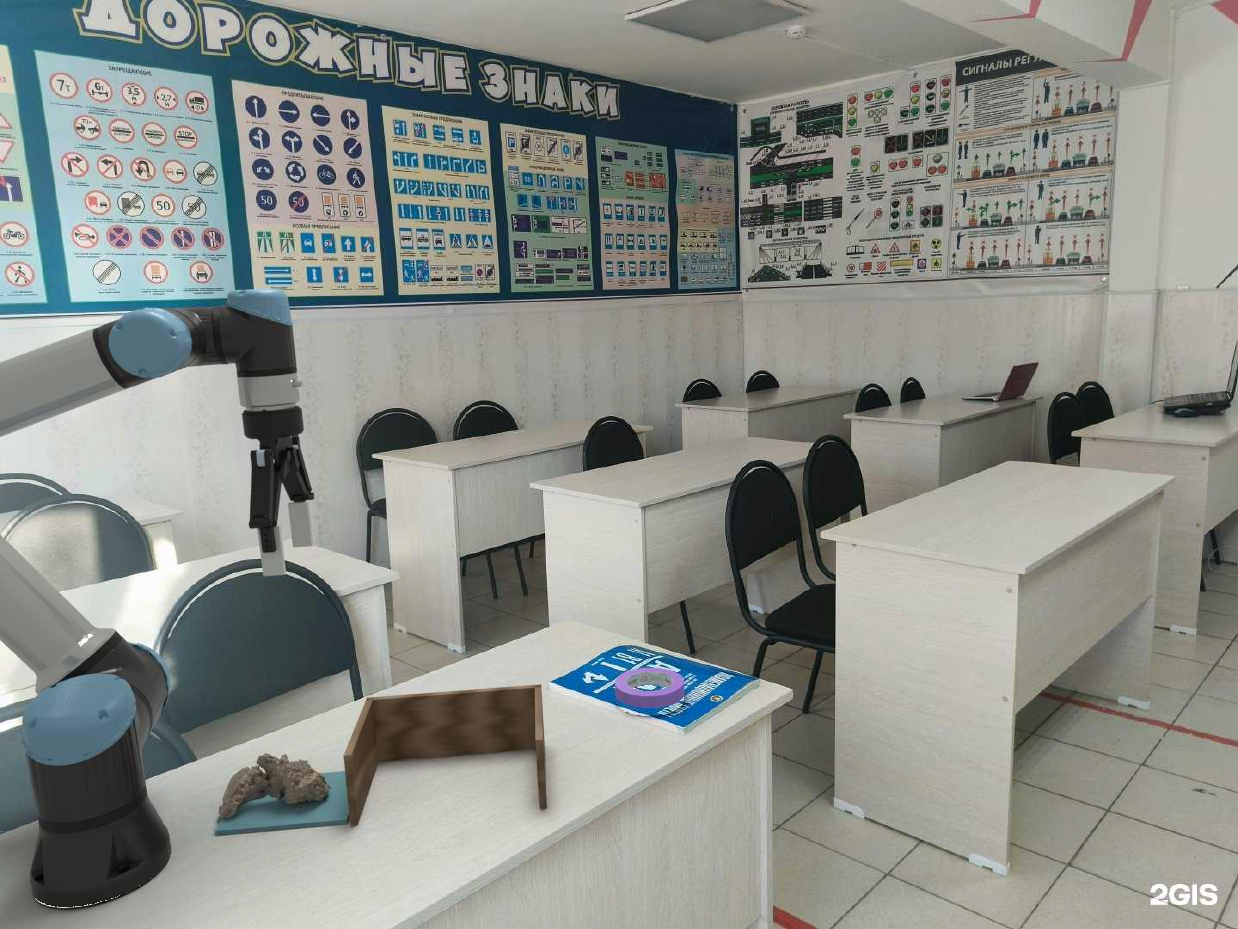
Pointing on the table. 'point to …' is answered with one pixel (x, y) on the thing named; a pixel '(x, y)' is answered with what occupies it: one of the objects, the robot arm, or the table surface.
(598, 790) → the table surface
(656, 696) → the masking tape
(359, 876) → the table surface
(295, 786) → the rock
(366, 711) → the walnut cubby
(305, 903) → the table surface
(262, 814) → the teal rubber mat
